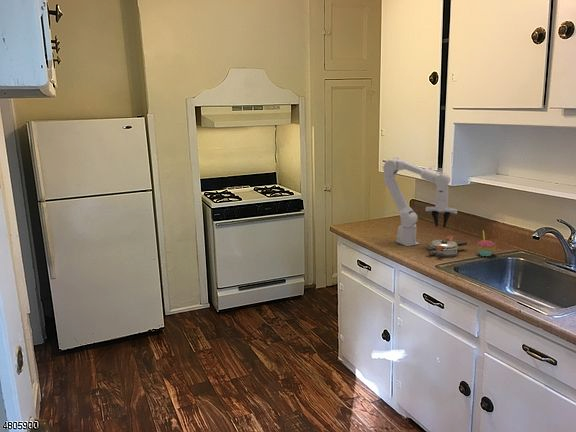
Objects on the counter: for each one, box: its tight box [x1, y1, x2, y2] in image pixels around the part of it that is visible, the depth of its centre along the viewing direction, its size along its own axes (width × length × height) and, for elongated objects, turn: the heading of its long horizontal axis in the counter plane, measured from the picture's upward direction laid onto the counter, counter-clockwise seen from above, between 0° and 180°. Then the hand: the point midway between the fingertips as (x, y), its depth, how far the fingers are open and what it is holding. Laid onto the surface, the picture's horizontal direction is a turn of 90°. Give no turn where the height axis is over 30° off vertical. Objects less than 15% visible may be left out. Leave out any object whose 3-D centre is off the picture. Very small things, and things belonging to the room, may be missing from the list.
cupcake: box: [475, 230, 497, 258], centre depth 224 cm, size 9×8×12 cm
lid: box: [431, 235, 457, 251], centre depth 229 cm, size 23×11×2 cm, turn 149°
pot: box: [425, 240, 468, 258], centre depth 229 cm, size 13×23×4 cm, turn 114°
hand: (440, 226), depth 236 cm, fingers open, 3 cm apart
